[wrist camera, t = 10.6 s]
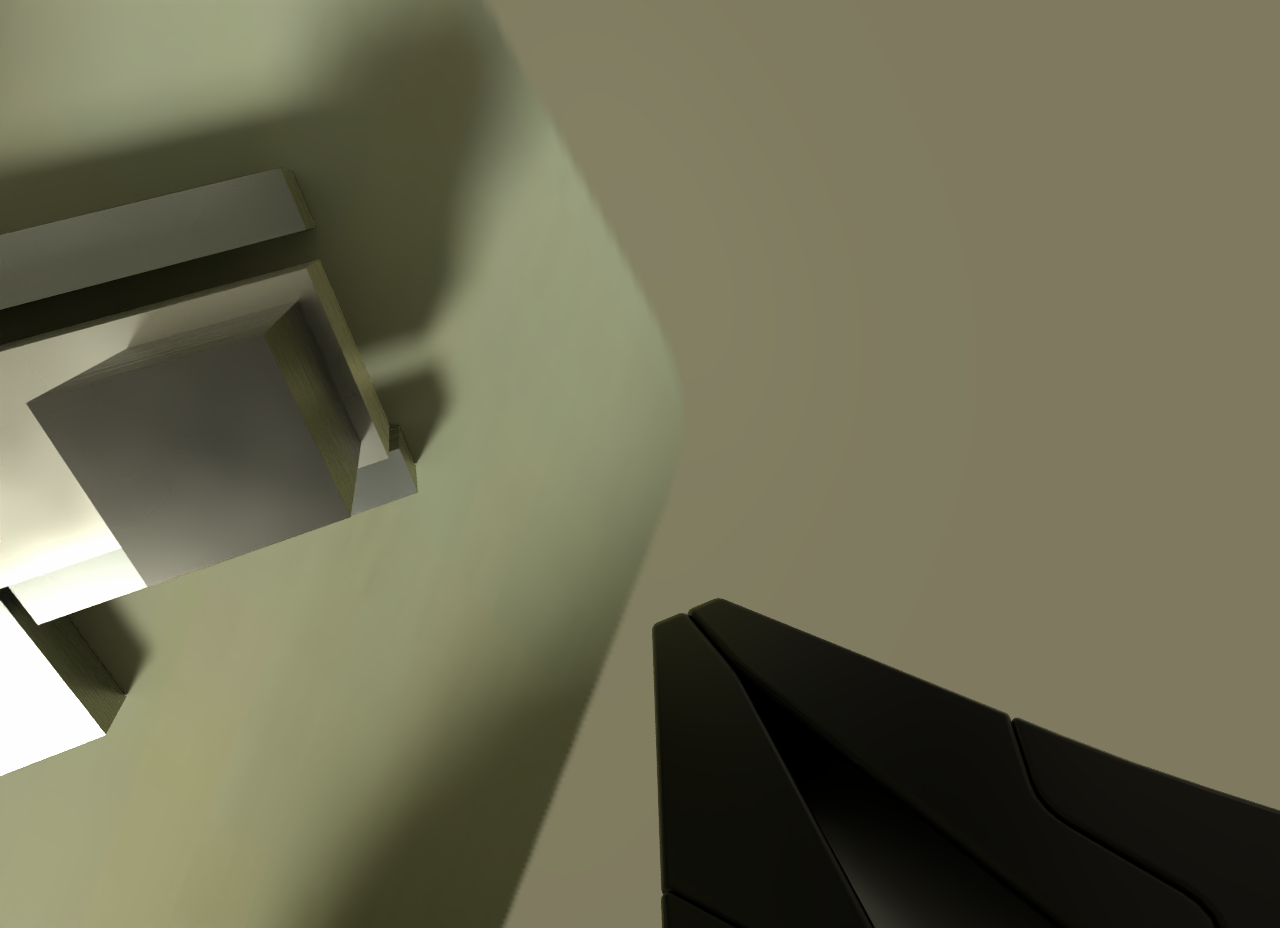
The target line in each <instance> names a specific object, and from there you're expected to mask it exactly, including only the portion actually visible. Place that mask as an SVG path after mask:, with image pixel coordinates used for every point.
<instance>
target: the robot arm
mask: <svg viewBox="0 0 1280 928" xmlns="http://www.w3.org/2000/svg"><path fill="white" fill-rule="evenodd" d="M652 639H653V666H654V694H655V720H656V721H655V723H656V749H657V778H658V807H659V836H660V864H661V889H662V893H663V896H662V898H661V909H662V928H1280V810H1277V809H1274V808H1270V807H1268V806H1264V805H1261V804H1258V803H1255V802H1252V801H1249V800H1246V799H1242V798H1239V797H1236V796H1233V795H1230V794H1227V793H1224V792H1220V791H1217V790H1214V789H1211V788H1208V787H1205V786H1202V785H1199V784H1196V783H1194V782H1191V781H1188V780H1185V779H1181V778H1179V777H1176V776H1173V775H1170V774H1167V773H1164V772H1161V771H1158V770H1155V769H1152V768H1149V767H1146V766H1143V765H1140V764H1137V763H1134V762H1131V761H1128V760H1126V759H1123V758H1121V757H1118V756H1115V755H1112V754H1110V753H1108V752H1105V751H1102V750H1099V749H1097V748H1094V747H1092V746H1089V745H1086V744H1084V743H1081V742H1079V741H1076V740H1073V739H1071V738H1068V737H1065V736H1063V735H1060V734H1058V733H1055V732H1052V731H1050V730H1048V729H1045V728H1043V727H1040V726H1038V725H1035V724H1033V723H1030V722H1028V721H1025V720H1023V719H1020V718H1014V719H1013V720H1012V722H1011V719H1010V716H1009V715H1008V714H1007V713H1005V712H1002V711H1000V710H997V709H995V708H992V707H990V706H987V705H985V704H982V703H980V702H977V701H975V700H972V699H970V698H967V697H965V696H962V695H960V694H958V693H955V692H952V691H950V690H948V689H945V688H942V687H940V686H938V685H935V684H933V683H930V682H928V681H925V680H923V679H920V678H918V677H915V676H913V675H910V674H908V673H905V672H903V671H900V670H898V669H895V668H893V667H891V666H888V665H886V664H883V663H881V662H878V661H876V660H873V659H871V658H868V657H866V656H863V655H861V654H858V653H856V652H853V651H851V650H848V649H846V648H843V647H841V646H838V645H836V644H833V643H831V642H829V641H826V640H824V639H821V638H819V637H816V636H813V635H811V634H809V633H806V632H804V631H801V630H799V629H796V628H793V627H791V626H789V625H786V624H784V623H781V622H779V621H776V620H774V619H771V618H769V617H766V616H764V615H762V614H759V613H757V612H754V611H752V610H749V609H747V608H744V607H742V606H739V605H736V604H734V603H732V602H729V601H727V600H724V599H720V598H717V599H713V600H711V601H708V602H706V603H704V604H701V605H699V606H696V607H694V608H692V609H690V610H689V612H688V615H686V614H684V613H680V614H677V615H675V616H672V617H670V618H667V619H665V620H662V621H660V622H658V623H656V624H655V625H654V626H653V629H652Z"/></svg>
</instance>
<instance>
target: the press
mask: <svg viewBox="0 0 1280 928" xmlns="http://www.w3.org/2000/svg"><path fill="white" fill-rule="evenodd" d="M314 227H316V226H315V223H314V221H313V218H312V216H311V214H310V211H309V209H308V206H307V204H306V202H305V199H304V197H303V194H302V192H301V190H300V187H299V185H298V182H297V180H296V178H295V175H294V173H293V171H289V170H286V169H283V168H276V169H272V170H268V171H264V172H260V173H255V174H251V175H247V176H243V177H239V178H235V179H231V180H226V181H222V182H218V183H214V184H210V185H206V186H201V187H197V188H193V189H189V190H185V191H181V192H177V193H172V194H168V195H164V196H160V197H156V198H152V199H147V200H143V201H139V202H135V203H131V204H127V205H123V206H118V207H114V208H110V209H106V210H102V211H98V212H93V213H89V214H85V215H81V216H77V217H73V218H69V219H64V220H60V221H56V222H52V223H48V224H44V225H40V226H35V227H31V228H27V229H23V230H19V231H15V232H10V233H6V234H2V235H0V310H1V309H5V308H9V307H12V306H16V305H20V304H24V303H28V302H32V301H35V300H39V299H43V298H47V297H51V296H55V295H58V294H62V293H66V292H70V291H74V290H78V289H81V288H85V287H89V286H93V285H97V284H101V283H104V282H108V281H112V280H116V279H120V278H124V277H127V276H131V275H135V274H139V273H143V272H147V271H150V270H154V269H158V268H162V267H166V266H170V265H173V264H177V263H181V262H185V261H189V260H193V259H196V258H200V257H204V256H208V255H212V254H216V253H219V252H223V251H227V250H231V249H235V248H239V247H242V246H246V245H250V244H254V243H258V242H262V241H265V240H269V239H273V238H277V237H281V236H285V235H288V234H292V233H296V232H300V231H304V230H307V229H311V228H314ZM415 493H418V489H417V476H416V465H415V463H414V460H413V458H412V456H411V453H410V451H409V448H408V446H407V444H406V441H405V439H404V436H403V434H402V432H401V429H400V427H399V425H397V426H394V427H391V428H389V458H388V459H385V460H382V461H379V462H376V463H373V464H370V465H367V466H364V467H361V468H358V470H357V477H356V484H355V491H354V498H353V505H352V512H351V516H352V515H354V514H357V513H360V512H363V511H366V510H369V509H372V508H375V507H377V506H380V505H383V504H386V503H389V502H392V501H395V500H397V499H400V498H403V497H406V496H409V495H412V494H415ZM145 587H147V585H146V584H145V582H144V581H143V579H142V578H141V576H140V575H139V573H138V572H137V570H136V569H135V567H134V566H133V564H132V563H131V561H130V560H129V558H128V557H127V555H126V554H125V552H124V551H123V549H122V548H120V549H117V550H114V551H111V552H108V553H105V554H102V555H99V556H96V557H93V558H90V559H87V560H84V561H81V562H78V563H75V564H72V565H69V566H66V567H63V568H60V569H57V570H54V571H51V572H48V573H45V574H42V575H39V576H36V577H33V578H30V579H27V580H24V581H21V582H18V583H15V584H12V585H9V586H6V587H3V588H0V775H3V774H5V773H8V772H10V771H13V770H16V769H18V768H21V767H23V766H26V765H29V764H31V763H34V762H36V761H39V760H42V759H44V758H47V757H49V756H52V755H54V754H57V753H60V752H62V751H65V750H67V749H70V748H73V747H75V746H78V745H80V744H83V743H86V742H88V741H91V740H93V739H96V738H99V737H101V736H104V735H106V733H107V731H108V729H109V727H110V726H111V724H112V722H113V720H114V718H115V716H116V715H117V713H118V711H119V709H120V707H121V705H122V704H123V702H124V700H125V698H126V696H125V695H124V693H123V692H122V691H121V689H120V688H119V687H118V685H117V684H116V683H115V681H114V680H113V678H112V677H111V676H110V674H109V673H108V672H107V670H106V669H105V668H104V666H103V665H102V664H101V662H100V661H99V660H98V658H97V657H96V656H95V654H94V653H93V651H92V650H91V649H90V647H89V646H88V645H87V643H86V642H85V641H84V639H83V638H82V637H81V635H80V634H79V633H78V631H77V630H76V629H75V627H74V626H73V624H72V623H71V622H70V620H69V619H68V618H67V616H66V615H68V614H71V613H74V612H77V611H79V610H82V609H85V608H88V607H91V606H94V605H97V604H99V603H102V602H105V601H108V600H111V599H114V598H117V597H119V596H122V595H125V594H128V593H131V592H134V591H137V590H140V589H142V588H145Z"/></svg>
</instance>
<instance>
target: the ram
mask: <svg viewBox="0 0 1280 928" xmlns="http://www.w3.org/2000/svg"><path fill="white" fill-rule="evenodd" d="M388 458H389V422H388V419H387V417H386V415H385V412H384V410H383V408H382V405H381V403H380V401H379V398H378V396H377V393H376V391H375V389H374V386H373V384H372V382H371V379H370V377H369V375H368V372H367V370H366V368H365V365H364V363H363V360H362V358H361V356H360V353H359V351H358V349H357V346H356V344H355V342H354V339H353V337H352V334H351V332H350V330H349V327H348V325H347V323H346V320H345V318H344V316H343V313H342V311H341V309H340V306H339V304H338V301H337V299H336V297H335V294H334V292H333V290H332V287H331V285H330V283H329V280H328V278H327V275H326V273H325V271H324V268H323V266H322V264H321V261H320V259H317V260H313V261H310V262H306V263H302V264H299V265H295V266H291V267H288V268H284V269H280V270H276V271H273V272H269V273H265V274H262V275H258V276H254V277H251V278H247V279H243V280H239V281H236V282H232V283H228V284H225V285H221V286H217V287H214V288H210V289H206V290H202V291H199V292H195V293H191V294H188V295H184V296H180V297H177V298H173V299H169V300H165V301H162V302H158V303H154V304H151V305H147V306H143V307H140V308H136V309H132V310H128V311H125V312H121V313H117V314H114V315H110V316H106V317H103V318H99V319H95V320H91V321H88V322H84V323H80V324H77V325H73V326H69V327H66V328H62V329H58V330H54V331H51V332H47V333H43V334H40V335H36V336H32V337H29V338H25V339H21V340H18V341H14V342H10V343H6V344H3V345H0V588H3V587H6V586H9V585H12V584H15V583H18V582H21V581H24V580H27V579H30V578H33V577H36V576H39V575H42V574H45V573H48V572H51V571H54V570H57V569H60V568H63V567H66V566H69V565H72V564H75V563H78V562H81V561H84V560H87V559H90V558H93V557H96V556H99V555H102V554H105V553H108V552H111V551H114V550H117V549H120V548H122V549H123V551H124V552H125V554H126V555H127V557H128V558H129V560H130V561H131V563H132V564H133V566H134V567H135V569H136V570H137V572H138V573H139V575H140V576H141V578H142V579H143V581H144V582H145V584H146V585H147V587H148V588H149V587H152V586H155V585H157V584H160V583H163V582H166V581H169V580H172V579H175V578H177V577H180V576H183V575H186V574H189V573H192V572H195V571H198V570H200V569H203V568H206V567H209V566H212V565H215V564H218V563H220V562H223V561H226V560H229V559H232V558H235V557H238V556H240V555H243V554H246V553H249V552H252V551H255V550H258V549H261V548H263V547H266V546H269V545H272V544H275V543H278V542H281V541H283V540H286V539H289V538H292V537H295V536H298V535H301V534H303V533H306V532H309V531H312V530H315V529H318V528H321V527H323V526H326V525H329V524H332V523H335V522H338V521H341V520H344V519H346V518H349V517H351V512H352V505H353V498H354V491H355V484H356V477H357V470H358V468H361V467H364V466H367V465H370V464H373V463H376V462H379V461H382V460H385V459H388Z"/></svg>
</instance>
